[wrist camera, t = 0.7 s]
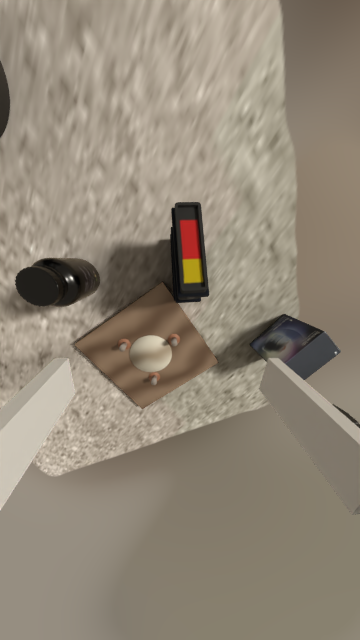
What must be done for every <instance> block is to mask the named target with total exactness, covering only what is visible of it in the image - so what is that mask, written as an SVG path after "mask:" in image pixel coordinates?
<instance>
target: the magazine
mask: <svg viewBox="0 0 360 640" xmlns="http://www.w3.org/2000/svg"><path fill="white" fill-rule="evenodd" d="M172 226H173V227H171V234H170V238H171V257H172V275H173V294H174V301H176V303H185V302H200V301H201V297H208V296H209V288H208V277H207V267H206V256H205V245H204V234H203V223H202V212H201V204H200V203H198V202H178V203H176V204H175V208H172Z"/></svg>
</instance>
